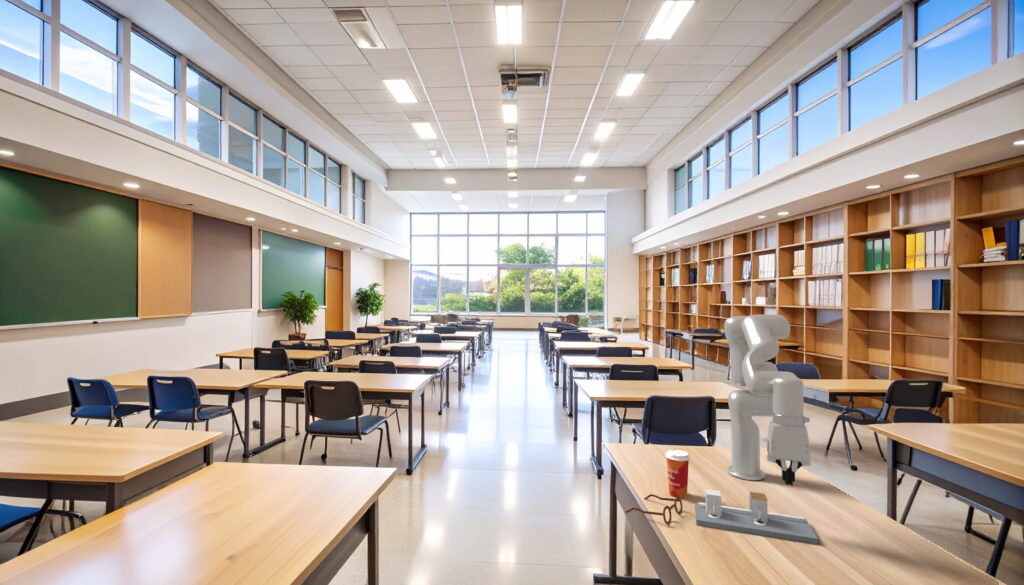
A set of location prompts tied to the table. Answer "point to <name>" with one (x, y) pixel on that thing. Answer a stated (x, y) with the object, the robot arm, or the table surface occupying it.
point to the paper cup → (677, 472)
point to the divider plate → (751, 521)
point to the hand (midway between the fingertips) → (788, 483)
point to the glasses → (663, 509)
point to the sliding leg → (758, 507)
